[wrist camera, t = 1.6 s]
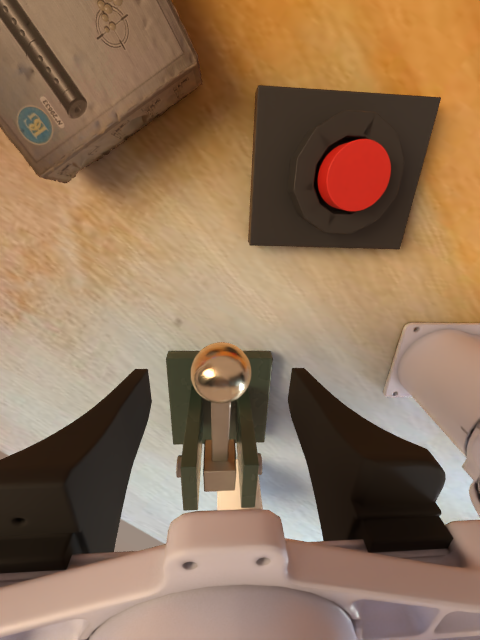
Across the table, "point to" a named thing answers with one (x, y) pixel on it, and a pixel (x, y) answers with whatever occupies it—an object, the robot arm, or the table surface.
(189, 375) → the bracket
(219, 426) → the lever
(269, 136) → the button box
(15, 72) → the box
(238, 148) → the table surface
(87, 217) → the table surface
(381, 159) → the button
